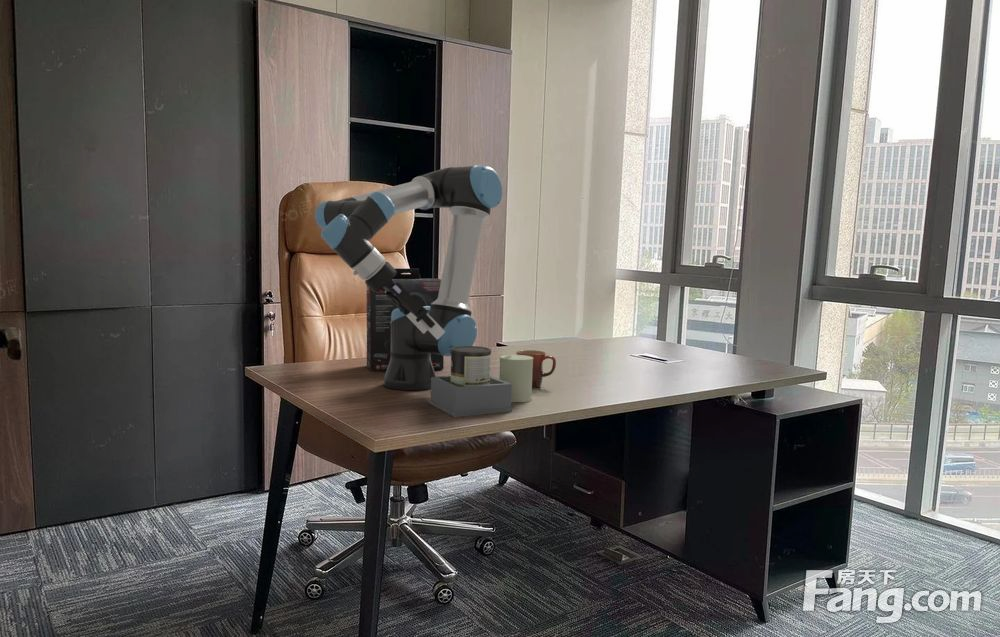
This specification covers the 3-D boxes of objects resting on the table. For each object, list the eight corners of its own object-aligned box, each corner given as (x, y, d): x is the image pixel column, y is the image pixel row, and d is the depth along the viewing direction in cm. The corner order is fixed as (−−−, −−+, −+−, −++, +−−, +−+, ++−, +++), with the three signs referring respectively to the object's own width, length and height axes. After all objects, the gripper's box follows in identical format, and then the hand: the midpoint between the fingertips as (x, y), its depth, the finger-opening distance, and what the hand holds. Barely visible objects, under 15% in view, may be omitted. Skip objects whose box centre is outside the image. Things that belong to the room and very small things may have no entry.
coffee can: (443, 405, 184) (444, 350, 182) (457, 397, 193) (458, 345, 192) (482, 409, 181) (484, 352, 179) (494, 401, 191) (496, 347, 189)
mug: (511, 387, 214) (512, 353, 213) (519, 382, 223) (520, 349, 222) (551, 391, 211) (553, 356, 210) (557, 385, 220) (559, 352, 219)
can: (492, 397, 201) (493, 353, 199) (520, 394, 205) (522, 352, 204) (509, 403, 193) (510, 358, 192) (538, 401, 197) (540, 357, 196)
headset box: (368, 372, 234) (369, 268, 230) (364, 365, 245) (365, 266, 242) (444, 370, 240) (446, 269, 237) (436, 364, 252) (438, 268, 249)
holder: (429, 403, 190) (429, 376, 190) (483, 398, 198) (484, 373, 197) (454, 416, 176) (455, 388, 176) (512, 411, 184) (513, 384, 183)
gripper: (355, 279, 187) (411, 338, 193) (372, 283, 164) (436, 349, 170) (376, 259, 188) (431, 318, 195) (396, 260, 165) (458, 326, 171)
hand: (434, 332), depth 182 cm, fingers open, 13 cm apart
